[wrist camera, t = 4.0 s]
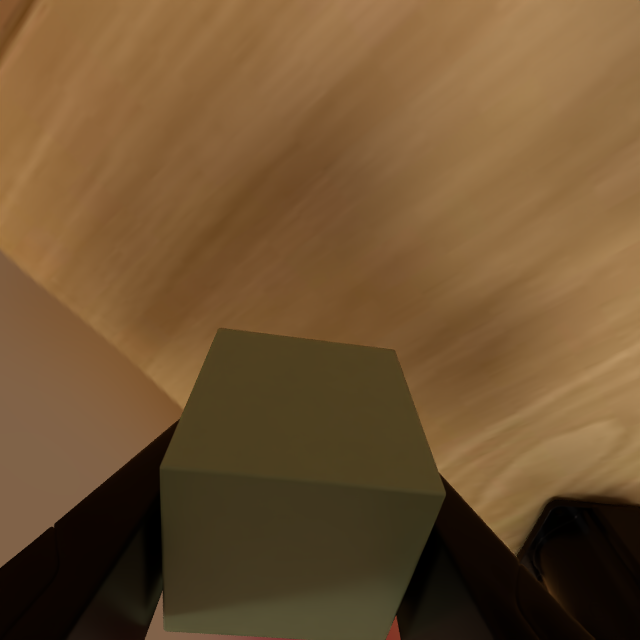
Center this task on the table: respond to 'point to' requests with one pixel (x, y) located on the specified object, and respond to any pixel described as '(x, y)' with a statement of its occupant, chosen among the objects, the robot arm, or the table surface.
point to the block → (294, 492)
